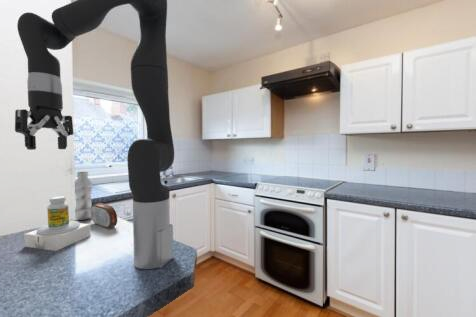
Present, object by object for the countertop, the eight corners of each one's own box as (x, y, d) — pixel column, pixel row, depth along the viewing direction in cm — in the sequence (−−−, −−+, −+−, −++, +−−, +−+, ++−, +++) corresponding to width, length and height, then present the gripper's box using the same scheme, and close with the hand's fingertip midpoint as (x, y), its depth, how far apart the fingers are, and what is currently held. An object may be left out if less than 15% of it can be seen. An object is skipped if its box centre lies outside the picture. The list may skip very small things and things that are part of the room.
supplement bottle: (69, 222, 78) (68, 194, 78) (68, 227, 74) (67, 198, 73) (49, 225, 75) (48, 196, 75) (47, 230, 71) (45, 200, 70)
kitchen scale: (90, 235, 80) (90, 221, 79) (54, 251, 67) (53, 235, 67) (62, 232, 82) (62, 219, 82) (23, 247, 70) (22, 231, 70)
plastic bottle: (70, 221, 94) (68, 172, 93) (84, 216, 101) (83, 171, 99) (83, 222, 92) (81, 173, 91) (97, 217, 99) (95, 171, 98)
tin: (118, 228, 87) (117, 206, 86) (110, 231, 84) (109, 208, 83) (97, 221, 95) (97, 201, 94) (89, 223, 92) (88, 202, 91)
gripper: (27, 85, 57) (30, 150, 58) (79, 97, 71) (80, 149, 72) (5, 86, 59) (8, 149, 60) (59, 97, 73) (61, 148, 74)
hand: (47, 149), depth 66 cm, fingers open, 8 cm apart
